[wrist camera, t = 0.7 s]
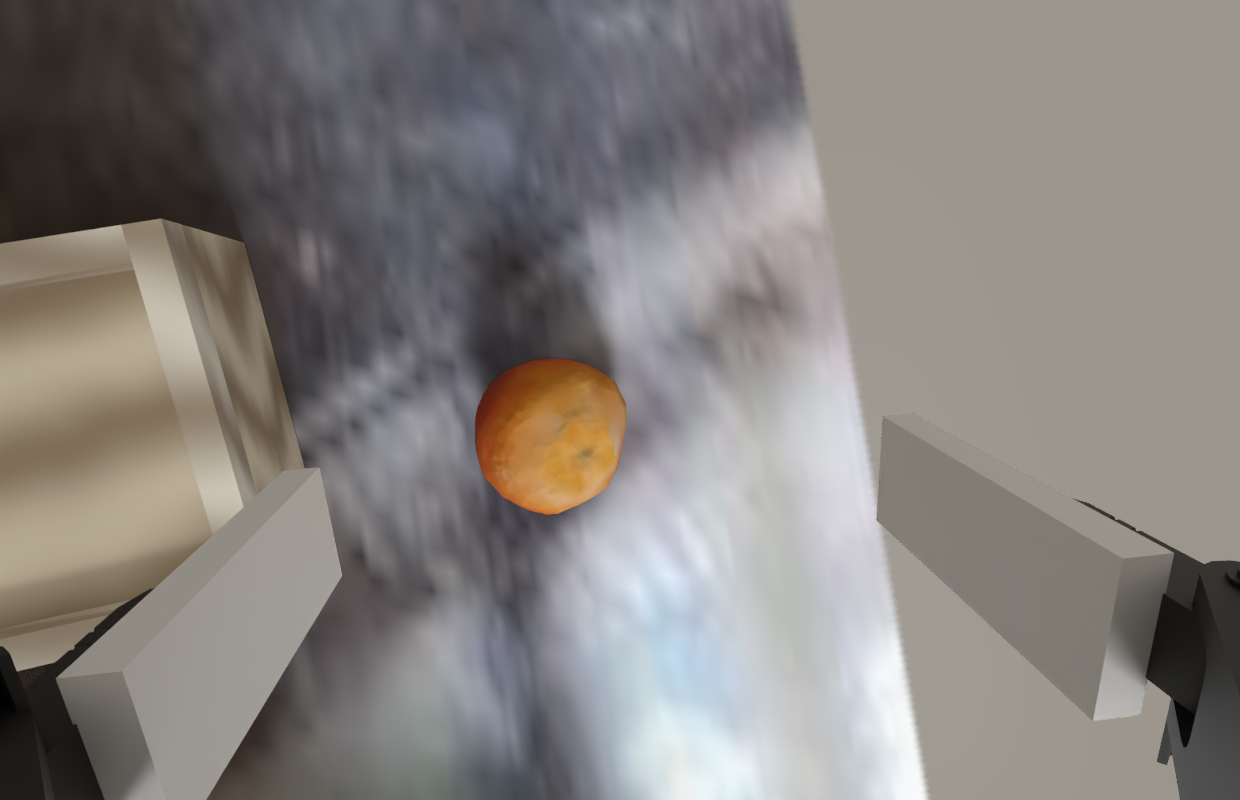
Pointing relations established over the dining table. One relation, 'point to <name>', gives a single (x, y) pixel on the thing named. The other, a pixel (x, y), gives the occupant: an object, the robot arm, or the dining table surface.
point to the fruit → (550, 433)
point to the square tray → (125, 419)
